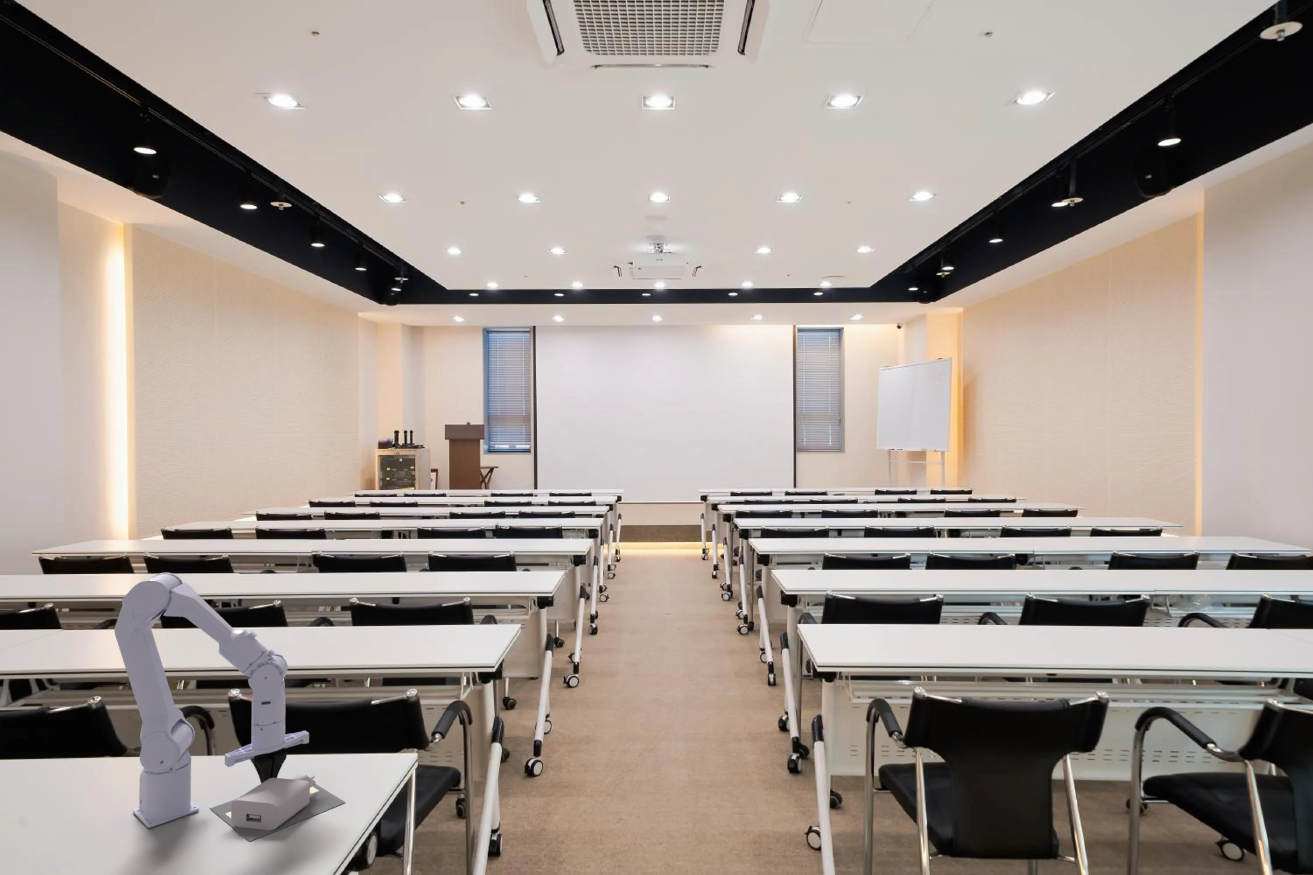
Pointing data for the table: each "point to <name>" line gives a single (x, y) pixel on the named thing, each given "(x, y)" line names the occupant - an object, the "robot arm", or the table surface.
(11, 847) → the table surface
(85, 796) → the table surface
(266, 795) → the charger
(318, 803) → the label mat
